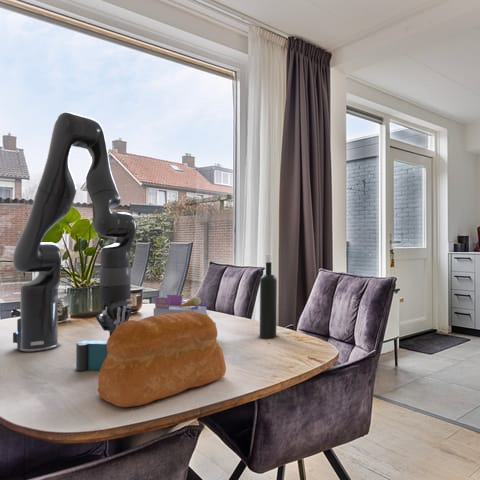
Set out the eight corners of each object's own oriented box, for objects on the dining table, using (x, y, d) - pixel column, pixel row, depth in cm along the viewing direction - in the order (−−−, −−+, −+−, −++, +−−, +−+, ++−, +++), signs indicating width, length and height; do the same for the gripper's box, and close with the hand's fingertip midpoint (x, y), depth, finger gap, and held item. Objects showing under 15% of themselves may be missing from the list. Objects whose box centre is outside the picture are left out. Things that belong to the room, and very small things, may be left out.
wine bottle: (277, 334, 149) (278, 252, 148) (274, 338, 143) (275, 253, 143) (261, 334, 149) (262, 252, 148) (258, 338, 143) (258, 253, 142)
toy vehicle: (202, 345, 134) (203, 299, 133) (150, 341, 138) (150, 297, 137) (218, 338, 143) (218, 295, 142) (168, 334, 147) (168, 293, 146)
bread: (232, 378, 103) (232, 310, 103) (123, 415, 82) (124, 329, 82) (196, 366, 113) (196, 304, 112) (90, 396, 91) (90, 319, 91)
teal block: (72, 371, 108) (72, 344, 108) (89, 363, 114) (89, 338, 114) (116, 372, 107) (116, 345, 107) (131, 364, 113) (131, 339, 113)
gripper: (117, 280, 122) (117, 337, 122) (85, 285, 109) (85, 350, 109) (141, 280, 122) (141, 338, 122) (113, 286, 108) (112, 350, 109)
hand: (115, 343), depth 115 cm, fingers closed
